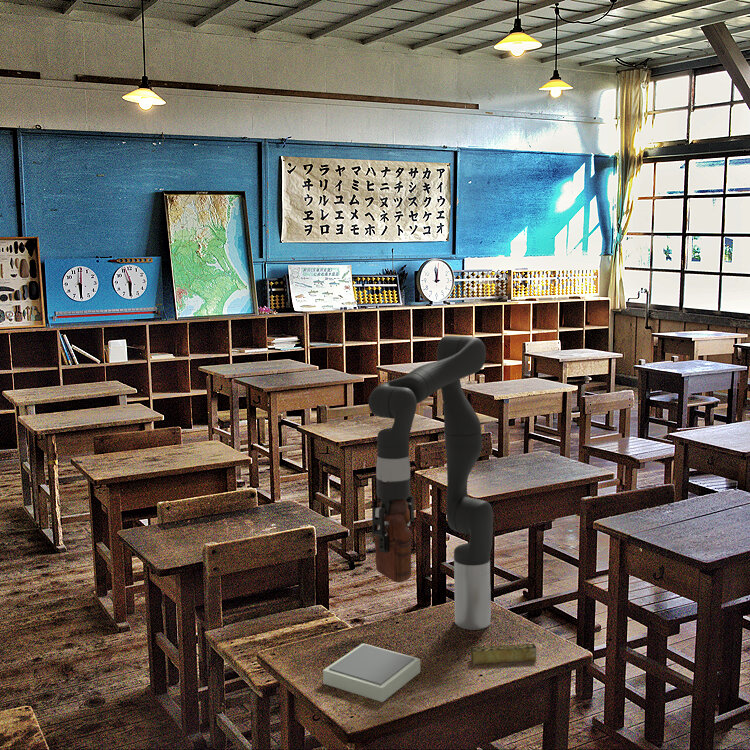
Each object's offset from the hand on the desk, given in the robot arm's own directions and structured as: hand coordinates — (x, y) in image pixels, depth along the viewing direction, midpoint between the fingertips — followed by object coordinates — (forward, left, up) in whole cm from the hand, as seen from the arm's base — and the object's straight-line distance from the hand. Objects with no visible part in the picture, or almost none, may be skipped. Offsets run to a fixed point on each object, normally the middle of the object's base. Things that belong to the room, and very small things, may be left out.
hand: (393, 546), depth 196 cm
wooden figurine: (0, 0, -7) cm, 7 cm away
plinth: (+4, -4, -31) cm, 31 cm away
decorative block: (-20, +17, -31) cm, 41 cm away
